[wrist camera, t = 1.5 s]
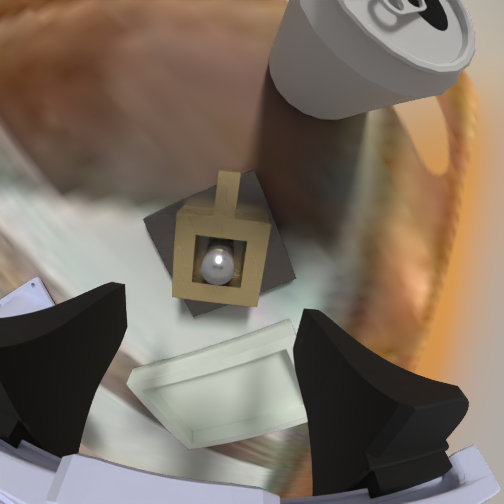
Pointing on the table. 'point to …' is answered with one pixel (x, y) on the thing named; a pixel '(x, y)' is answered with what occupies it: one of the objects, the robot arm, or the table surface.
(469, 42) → the can
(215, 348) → the tray
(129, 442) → the table surface
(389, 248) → the table surface
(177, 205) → the square base with knob
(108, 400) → the table surface
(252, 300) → the square frame with tab
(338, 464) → the robot arm
